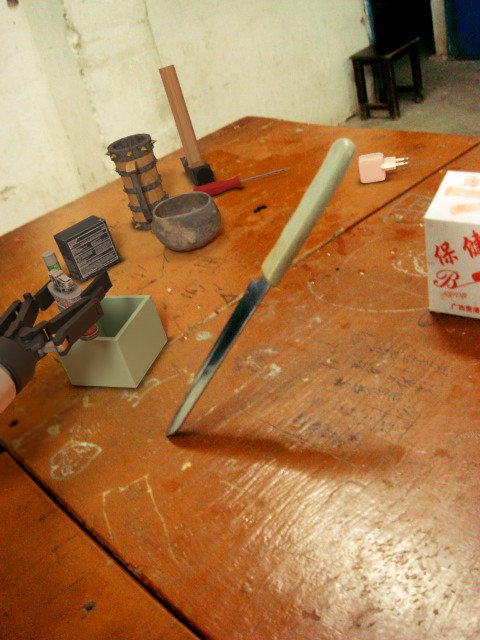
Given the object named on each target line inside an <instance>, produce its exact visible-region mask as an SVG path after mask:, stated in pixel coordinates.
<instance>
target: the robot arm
mask: <svg viewBox="0 0 480 640" xmlns="http://www.w3.org/2000/svg"><path fill="white" fill-rule="evenodd" d="M50 282H52V280H51V279H50V278H49V280H48V281H47V282H46V283H45V284H44V285H43V286H42V287H41V288H40V289H38V290H37V291H36V293H35V294H34V295H32V293H31V292H25V293H24V294H22V297H23V299H24V301H21V299H15V300H14V301H12V302H11V304H10V305H9V306H8V307H7V308H6V310H5V311H3V313H2V315H0V415H1V414H2V413H3V412H4V411H5V410H6V409H7V408H8V407H9V406H10V404H11V403H12V402H13V401H14V400H15V398H16V397H17V396H18V395H19V394H20V393H21V392H22V391H23V390H24V389H25V387H27V385H28V384H29V383H30V382H31V381H32V379H33V378H34V377H35V373H36V367H37V364H38V363H39V361H41V360H43V359H44V358H45V357H47V356H48V354H50V353H57V352H58V354H59V356H60V357H63V356H65V355H67V354H68V352H69V350H70V349H71V347H72V345H73V344H74V343H75V342H76V341H77V340H78V339H79V338H80V337H82V336H83V335H84V334H85V333H86V332H87V331H88V330H89V329H90V328H91V327H92V326H93V325H94V324H95V323H96V322H97V321H98V320H99V319H100V318H101V317H102V316H103V315H104V312H103V309H102V307H101V305H100V302H101V301H102V300H103V298H104V297H105V296H107V293H108V292H109V291H110V290H111V288H112V287H113V282H112V280H111V277H110V276H109V272H108V270H107V269H105V270H102V271H101V272H100V273H98V274H97V275H96V277H94V279H92V281H91V282H90V283H89V284H88V285H87V286H86V287H85V289H84V290H82V293H81V294H80V296H81V299H80V300H78V301H77V302H75V303H74V304H72V305H71V306H69V307H68V308H67V309H65V310H64V311H62V312H59V313H58V314H56V315H55V316H53V317H51V318H50V319H49V320H46V319H43V320H41V321H40V322H38V323H37V324H35V323H36V321H37V318H38V316H39V314H40V311H42V312H46V311H47V310H48V309H49V308H50V307H51V306H52V305H53V304H54V303H55V302H56V301H55V299H54V297H53V295H52V294H51V293H50V291H49V289H48V287H47V286H48V284H49V283H50ZM58 354H57V355H58ZM59 356H58V357H59Z"/></svg>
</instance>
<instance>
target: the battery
mask: <svg viewBox="0 0 480 640" xmlns="http://www.w3.org/2000/svg"><path fill="white" fill-rule="evenodd" d="M41 258H42V260H43V262H44V264H45V267H46V269H47V271H48V272H49V271H51V270H53V269H55V270H57V271H59V270H62V271H63V269H62V266H61V264H60V262H59V260H58V257H57V255H56V253H55V251H54V250H52V249H51V250H47V251H44V252H43V253H42V254H41Z"/></svg>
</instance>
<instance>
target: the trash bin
mask: <svg viewBox="0 0 480 640" xmlns="http://www.w3.org/2000/svg"><path fill="white" fill-rule="evenodd" d="M100 305H101V307H102V309H103V312H104V315H103V316H102V317H101V318H100V319H99V320H98V321H97V322H96V323H95V324H96V326H97V327H98V329H99V331H100V335H99V336H98V337H97V338H96V339H94V340H92V341H83V340H80V339H78V340H77V341H76V342H75V343H74V344H73V345H72V347H71V349H70V350H69V352H68V354H67V355H65V356H63V357H60V356H59V354H58V352H56V354H57V356H58V359H59V360H60V362H61V365H62V367H63V369H64V371H65V373H66V375H67V377H68V379H69V381H70V383H71V385H72V386H84V387H85V386H87V387H107V388H108V387H111V388H129V389H131V388H133V389H137V387H138V386H139V385H140V383H141V382H142V380H143V379H144V377H145V376H146V375H147V373H148V371H149V370H150V369H151V367H152V365H153V364H154V362H155V360H156V359H157V357H158V356H159V354H160V353H161V351H162V350H163V349H164V347H165V345H166V344H167V343H168V341H169V340H168V337H167V335H166V332H165V329H164V326H163V324H162V321H161V317H160V314H159V313H158V310H157V307H156V304H155V301H154V299H153V296H152V294H124V295H121V294H119V295H116V294H115V295H106V296H105V297H104V298H103V300H102V301H101V302H100Z"/></svg>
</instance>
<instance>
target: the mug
mask: <svg viewBox="0 0 480 640" xmlns="http://www.w3.org/2000/svg"><path fill="white" fill-rule="evenodd" d="M157 141H158V140H156V139H152V136H151V135H150V134H149V133H144V132H143V133H136V134H131V135H128V136H125V137H122V138H119V139H117V140H115V141H113V142H111V143H110V144H108V146H106V149H107V151H106V152H105V153H104V154H103V155H105V156H109V159H110V161H111V162H113V164H114V165H115V170H114V171H115V173H117V174H118V175H119V177H120V178H121V180H122V187H123V190H122V191H123V193H125V194H127V198H128V201H129V202H128V204H127V207H128V208H129V210H130V212H131V215H132V217H131V220H130V221H129V222H128V223H131V224H133V225H134V227H135V228H134V229H138V230H152V227H153V225H152V219H153V210H154V208H155V207H156V206H157V205H158V204H159V203H160V202H162V201H164V200H166V199H168V198H170V194H169V193H166V190H165V189H164V186H163V184H162V182H163V179H162V174H160V173H159V171H158V166H157V163H158V162H159V160H158V158H157V157H156V155H155V154H154V148H155V146H154V144H155V143H157Z"/></svg>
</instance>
